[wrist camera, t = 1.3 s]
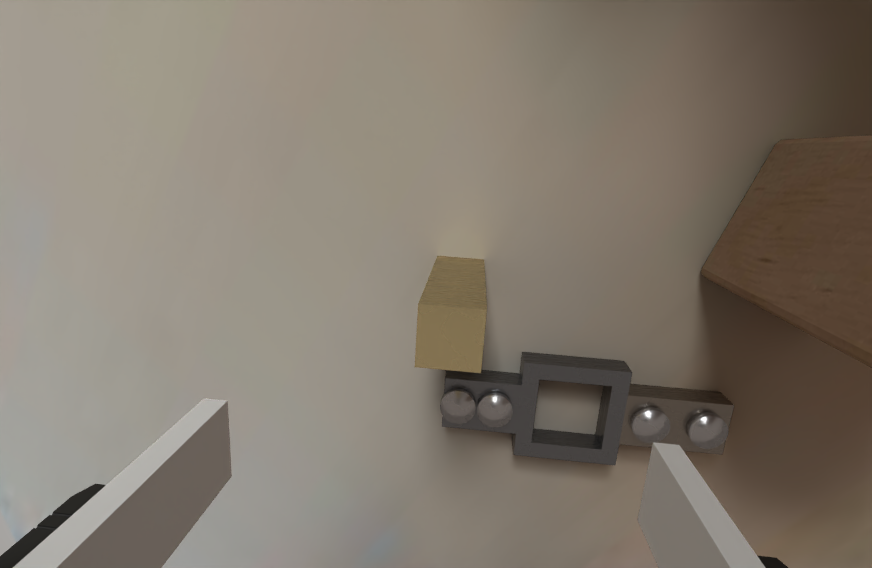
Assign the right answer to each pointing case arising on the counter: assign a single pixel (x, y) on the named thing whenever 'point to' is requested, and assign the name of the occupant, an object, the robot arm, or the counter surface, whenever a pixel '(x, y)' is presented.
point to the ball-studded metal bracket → (618, 415)
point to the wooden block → (806, 241)
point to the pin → (452, 316)
